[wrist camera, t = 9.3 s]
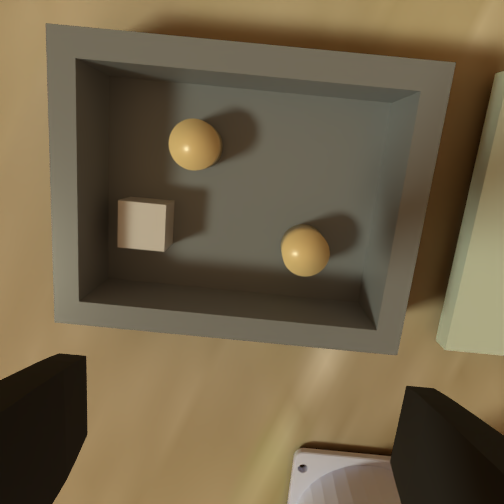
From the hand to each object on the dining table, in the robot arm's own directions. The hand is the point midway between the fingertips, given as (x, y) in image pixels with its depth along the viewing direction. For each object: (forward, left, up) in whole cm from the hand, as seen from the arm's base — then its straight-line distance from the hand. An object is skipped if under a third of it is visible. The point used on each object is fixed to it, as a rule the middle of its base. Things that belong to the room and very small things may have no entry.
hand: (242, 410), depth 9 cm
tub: (+4, +1, -10) cm, 11 cm away
